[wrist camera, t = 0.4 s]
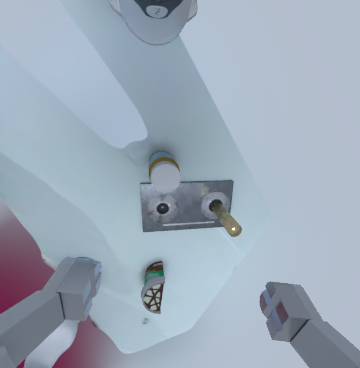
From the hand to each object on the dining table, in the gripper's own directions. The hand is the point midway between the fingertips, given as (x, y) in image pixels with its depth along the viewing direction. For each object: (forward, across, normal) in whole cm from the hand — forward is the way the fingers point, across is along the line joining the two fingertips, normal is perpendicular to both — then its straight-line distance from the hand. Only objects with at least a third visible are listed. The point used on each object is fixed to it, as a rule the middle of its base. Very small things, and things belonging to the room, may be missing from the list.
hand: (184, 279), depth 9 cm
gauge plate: (+42, -5, +23) cm, 48 cm away
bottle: (+43, +4, +11) cm, 45 cm away
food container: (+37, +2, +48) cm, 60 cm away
